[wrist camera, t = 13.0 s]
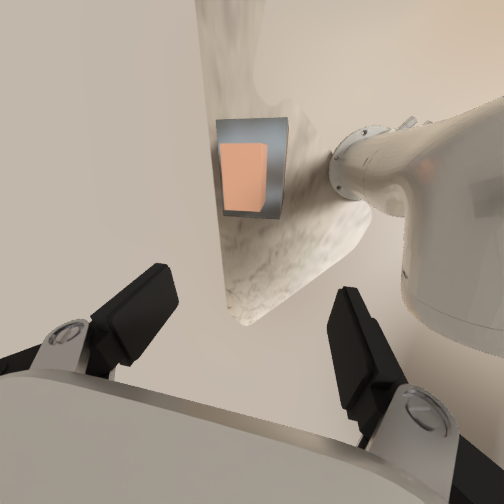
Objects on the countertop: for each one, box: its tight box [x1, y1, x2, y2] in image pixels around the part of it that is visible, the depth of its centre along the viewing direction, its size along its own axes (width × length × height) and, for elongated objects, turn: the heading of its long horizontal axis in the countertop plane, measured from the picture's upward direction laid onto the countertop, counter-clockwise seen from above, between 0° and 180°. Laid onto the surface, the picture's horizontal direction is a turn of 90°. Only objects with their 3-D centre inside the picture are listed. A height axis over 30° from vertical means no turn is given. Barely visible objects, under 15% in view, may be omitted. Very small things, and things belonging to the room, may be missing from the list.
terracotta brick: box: [220, 143, 267, 212], centre depth 25 cm, size 8×5×6 cm, turn 0°
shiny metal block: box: [216, 117, 289, 219], centre depth 33 cm, size 14×10×12 cm
